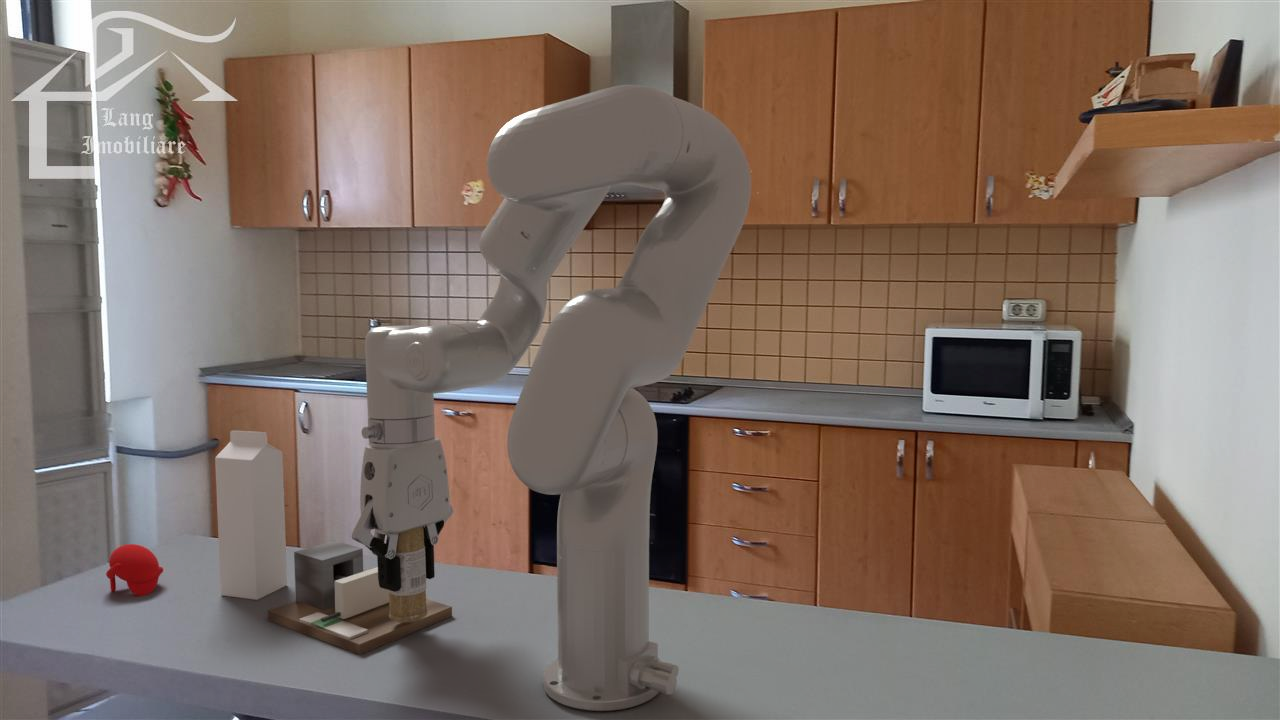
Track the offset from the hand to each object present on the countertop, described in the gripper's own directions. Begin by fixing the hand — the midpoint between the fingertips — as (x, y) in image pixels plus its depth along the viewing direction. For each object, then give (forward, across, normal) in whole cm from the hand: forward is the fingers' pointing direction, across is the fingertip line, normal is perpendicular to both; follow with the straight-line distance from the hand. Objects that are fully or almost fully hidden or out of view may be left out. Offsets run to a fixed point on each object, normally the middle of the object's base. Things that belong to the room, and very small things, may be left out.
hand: (407, 581), depth 103 cm
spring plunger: (+5, -1, +10) cm, 11 cm away
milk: (+6, -2, +29) cm, 30 cm away
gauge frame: (+6, 0, +9) cm, 11 cm away
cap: (+6, -11, +43) cm, 45 cm away
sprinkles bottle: (+5, 0, 0) cm, 5 cm away
